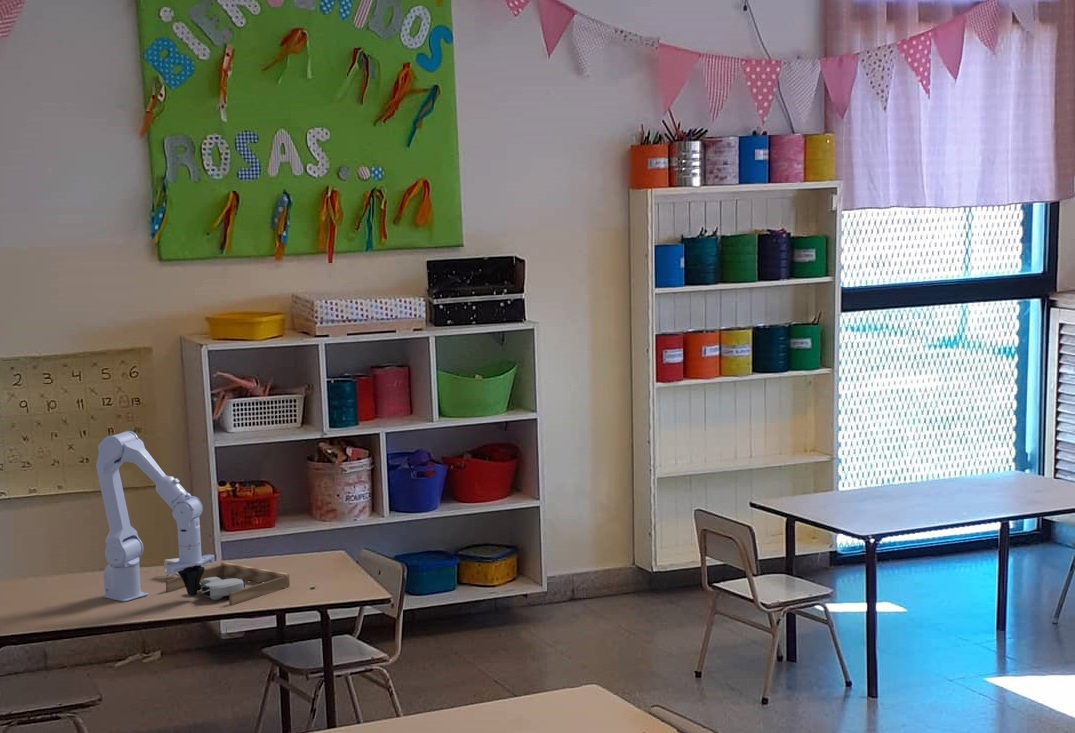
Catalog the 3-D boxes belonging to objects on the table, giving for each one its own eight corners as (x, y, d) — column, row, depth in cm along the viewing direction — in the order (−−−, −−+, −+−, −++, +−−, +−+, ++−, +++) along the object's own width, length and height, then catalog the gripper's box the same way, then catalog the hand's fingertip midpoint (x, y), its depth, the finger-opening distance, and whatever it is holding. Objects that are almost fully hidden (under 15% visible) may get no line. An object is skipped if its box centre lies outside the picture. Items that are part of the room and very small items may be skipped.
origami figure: (162, 582, 381) (161, 565, 381) (164, 575, 389) (163, 558, 389) (206, 579, 384) (205, 561, 383) (207, 571, 392) (206, 554, 391)
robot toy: (184, 597, 368) (210, 604, 357) (183, 581, 368) (209, 587, 356) (226, 589, 376) (253, 595, 365) (224, 572, 376) (251, 578, 364)
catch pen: (166, 591, 371) (165, 578, 371) (224, 574, 388) (223, 562, 387) (232, 605, 356) (231, 591, 356) (289, 586, 373) (289, 573, 372)
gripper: (177, 551, 352) (180, 603, 354) (221, 540, 364) (223, 590, 365) (159, 548, 356) (162, 599, 358) (203, 537, 368) (205, 586, 369)
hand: (192, 594), depth 362 cm, fingers closed
